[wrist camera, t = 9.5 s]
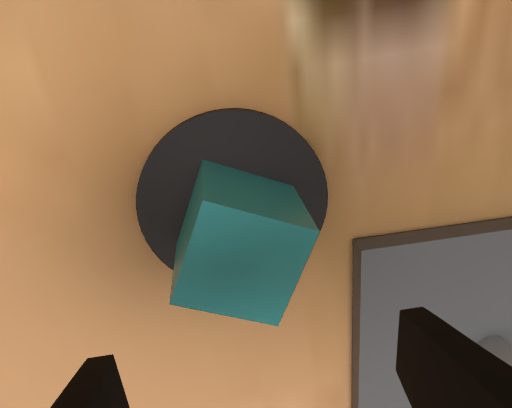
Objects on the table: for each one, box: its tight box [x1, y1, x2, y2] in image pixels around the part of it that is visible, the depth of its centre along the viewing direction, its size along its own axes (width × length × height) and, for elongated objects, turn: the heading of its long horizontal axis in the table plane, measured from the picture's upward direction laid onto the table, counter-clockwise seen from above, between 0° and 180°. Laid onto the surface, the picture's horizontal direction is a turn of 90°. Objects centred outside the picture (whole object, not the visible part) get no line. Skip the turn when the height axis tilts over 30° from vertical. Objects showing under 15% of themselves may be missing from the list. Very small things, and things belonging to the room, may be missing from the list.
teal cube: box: [170, 160, 320, 326], centre depth 17 cm, size 4×4×5 cm
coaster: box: [136, 108, 328, 270], centre depth 19 cm, size 9×9×1 cm
